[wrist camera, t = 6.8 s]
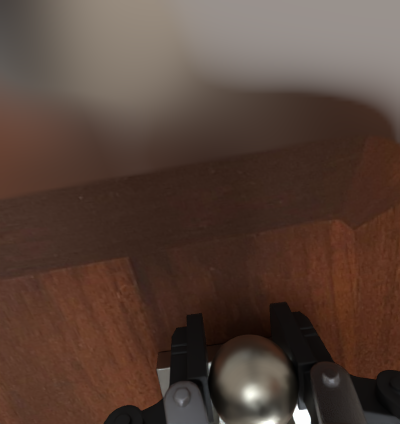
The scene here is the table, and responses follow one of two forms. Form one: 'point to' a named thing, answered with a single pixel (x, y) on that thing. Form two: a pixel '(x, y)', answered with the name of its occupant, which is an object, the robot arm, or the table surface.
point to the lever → (253, 382)
